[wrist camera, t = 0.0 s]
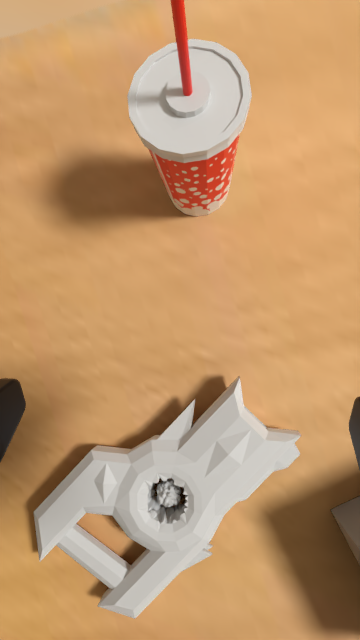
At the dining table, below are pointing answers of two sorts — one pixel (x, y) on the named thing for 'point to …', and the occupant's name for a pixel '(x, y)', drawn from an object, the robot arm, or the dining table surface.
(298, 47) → the dining table surface
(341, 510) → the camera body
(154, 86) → the beverage cup
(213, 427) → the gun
